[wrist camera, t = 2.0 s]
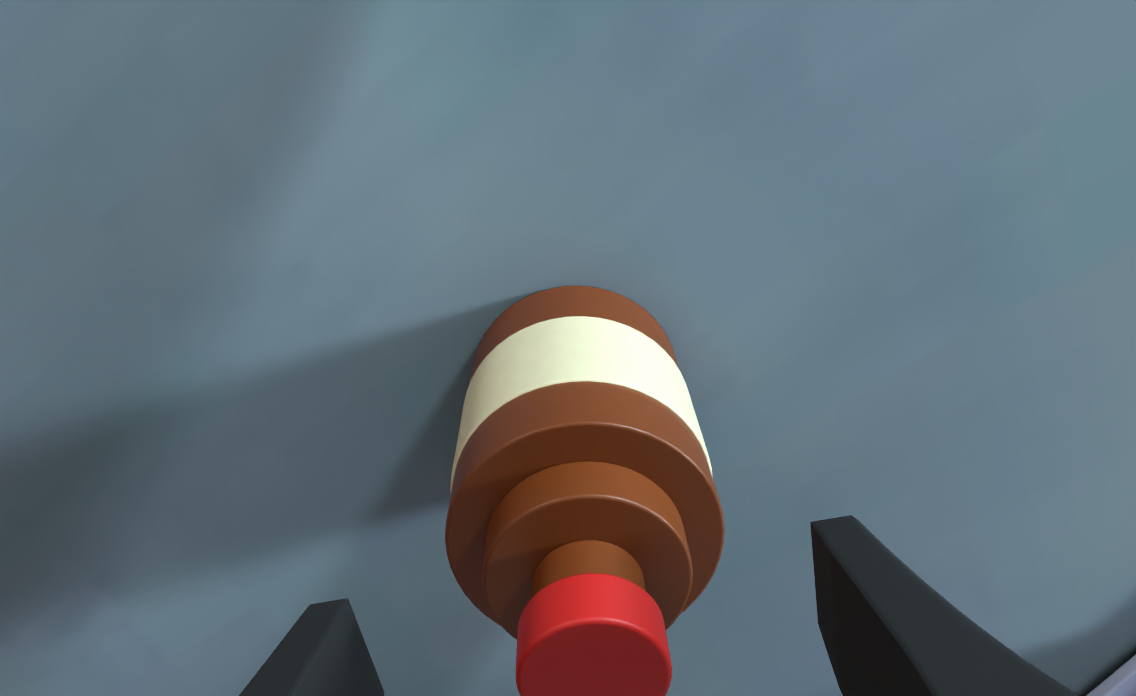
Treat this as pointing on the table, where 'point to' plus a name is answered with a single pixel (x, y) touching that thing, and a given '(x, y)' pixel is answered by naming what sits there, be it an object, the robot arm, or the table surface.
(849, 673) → the robot arm
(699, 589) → the sauce bottle
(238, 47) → the table surface
